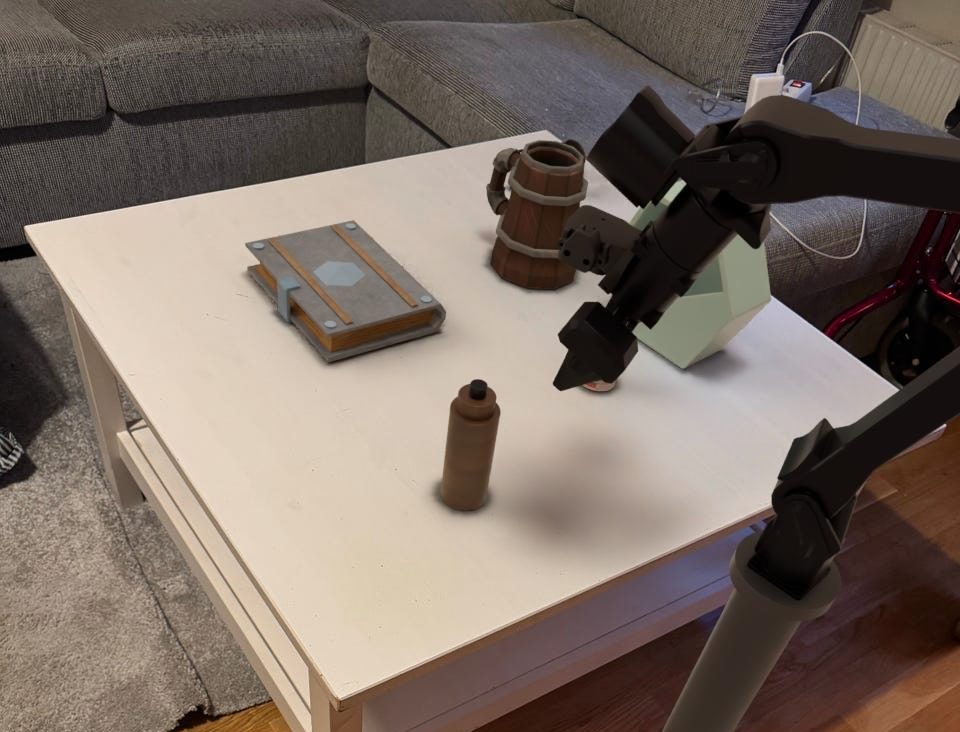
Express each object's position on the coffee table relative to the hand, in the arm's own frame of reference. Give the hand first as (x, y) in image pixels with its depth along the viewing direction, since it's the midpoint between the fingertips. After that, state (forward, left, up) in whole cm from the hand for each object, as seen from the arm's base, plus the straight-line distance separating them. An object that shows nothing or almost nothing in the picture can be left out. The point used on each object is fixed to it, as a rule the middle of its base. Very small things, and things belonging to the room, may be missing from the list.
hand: (575, 363), depth 88 cm
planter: (+8, -32, -14) cm, 36 cm away
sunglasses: (+46, -50, -14) cm, 69 cm away
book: (+38, -3, -14) cm, 40 cm away
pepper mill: (+4, +10, -14) cm, 17 cm away
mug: (+32, -30, -14) cm, 46 cm away
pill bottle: (+8, -17, -14) cm, 23 cm away
